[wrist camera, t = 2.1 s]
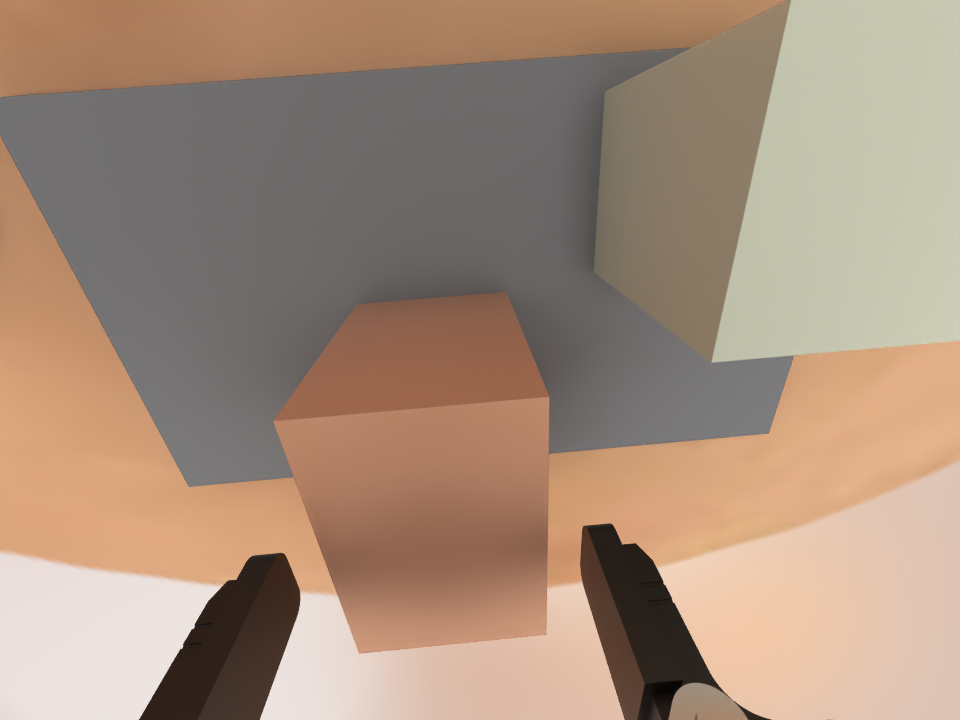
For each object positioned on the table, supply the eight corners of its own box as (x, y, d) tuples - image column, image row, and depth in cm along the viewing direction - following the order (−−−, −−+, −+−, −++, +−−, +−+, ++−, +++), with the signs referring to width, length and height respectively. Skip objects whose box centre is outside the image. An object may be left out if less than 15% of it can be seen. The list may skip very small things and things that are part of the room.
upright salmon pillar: (356, 304, 16) (273, 421, 8) (506, 291, 16) (549, 396, 9) (394, 475, 20) (359, 653, 12) (513, 464, 20) (546, 634, 13)
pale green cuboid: (593, 272, 16) (711, 362, 8) (604, 91, 13) (791, -3, 6) (815, 253, 16) (1114, 327, 9) (871, 71, 13) (1377, -43, 6)
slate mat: (12, 102, 13) (-20, 98, 12) (869, 41, 14) (898, 32, 13) (200, 472, 20) (188, 486, 19) (755, 421, 21) (768, 433, 20)
